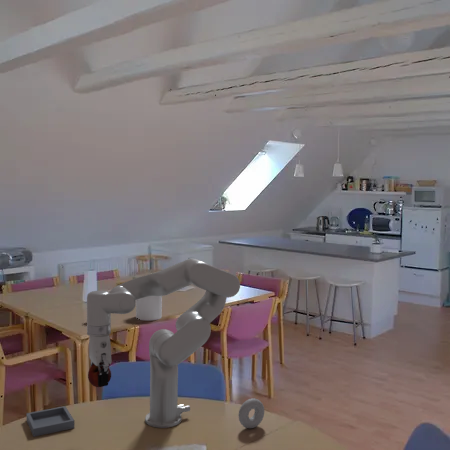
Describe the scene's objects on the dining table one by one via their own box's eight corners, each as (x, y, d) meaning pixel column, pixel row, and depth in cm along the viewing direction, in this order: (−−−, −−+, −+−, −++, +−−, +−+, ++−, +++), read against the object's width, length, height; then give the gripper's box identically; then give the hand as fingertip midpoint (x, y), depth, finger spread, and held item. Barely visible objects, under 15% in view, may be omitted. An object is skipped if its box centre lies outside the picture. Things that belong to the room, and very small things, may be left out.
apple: (82, 388, 166) (82, 364, 166) (98, 380, 173) (98, 357, 173) (100, 392, 163) (100, 367, 163) (116, 384, 170) (115, 360, 170)
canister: (165, 318, 319) (166, 287, 317) (141, 321, 311) (141, 289, 309) (155, 313, 332) (156, 282, 331) (132, 315, 324) (132, 284, 323)
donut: (260, 422, 177) (261, 394, 177) (266, 426, 174) (266, 397, 174) (236, 428, 172) (236, 400, 171) (241, 433, 169) (242, 403, 169)
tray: (65, 413, 182) (65, 405, 181) (74, 427, 170) (74, 420, 170) (26, 420, 175) (26, 413, 175) (33, 436, 164) (33, 428, 164)
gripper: (118, 334, 161) (118, 388, 162) (102, 321, 176) (102, 371, 177) (95, 337, 157) (95, 393, 159) (80, 324, 172) (80, 375, 174)
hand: (99, 381), depth 168 cm, fingers closed on apple, 7 cm apart
